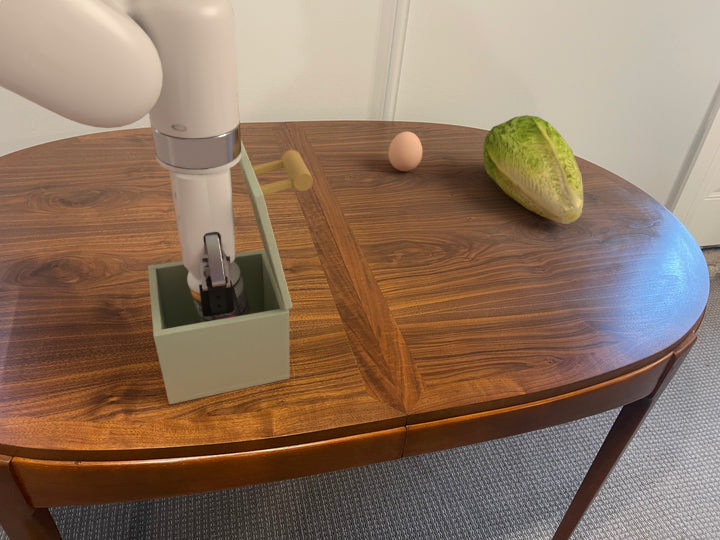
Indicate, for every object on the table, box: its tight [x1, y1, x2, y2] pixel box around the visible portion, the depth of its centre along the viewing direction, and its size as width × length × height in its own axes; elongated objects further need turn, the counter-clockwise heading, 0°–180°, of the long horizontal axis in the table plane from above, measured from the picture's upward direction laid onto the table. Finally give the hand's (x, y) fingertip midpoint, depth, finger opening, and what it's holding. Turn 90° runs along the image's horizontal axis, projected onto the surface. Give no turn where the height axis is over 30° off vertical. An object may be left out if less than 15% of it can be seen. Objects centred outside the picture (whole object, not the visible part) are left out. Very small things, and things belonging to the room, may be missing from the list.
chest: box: [147, 249, 291, 405], centre depth 62 cm, size 14×12×11 cm
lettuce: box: [482, 114, 585, 225], centre depth 98 cm, size 14×24×15 cm
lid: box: [238, 139, 314, 310], centre depth 56 cm, size 14×12×6 cm
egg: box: [387, 131, 424, 172], centre depth 104 cm, size 7×7×8 cm
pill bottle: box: [187, 252, 251, 323], centre depth 59 cm, size 6×6×10 cm
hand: (214, 292), depth 59 cm, fingers closed on pill bottle, 5 cm apart
